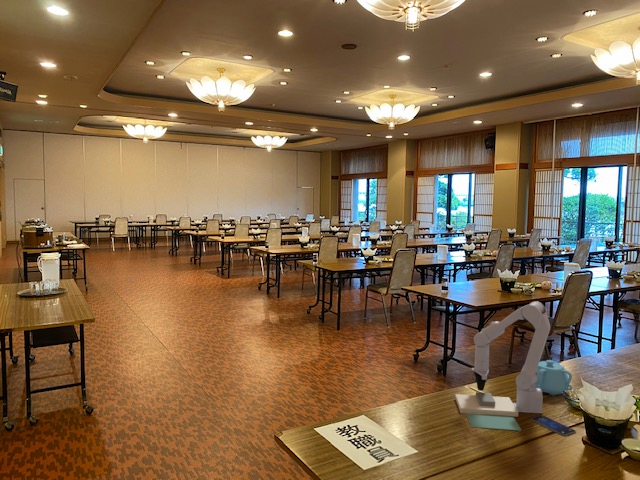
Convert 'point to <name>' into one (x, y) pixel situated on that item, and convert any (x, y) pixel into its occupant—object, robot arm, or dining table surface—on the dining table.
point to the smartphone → (553, 425)
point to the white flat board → (472, 406)
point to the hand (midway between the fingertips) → (480, 389)
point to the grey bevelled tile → (485, 399)
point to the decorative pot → (553, 378)
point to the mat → (493, 422)
